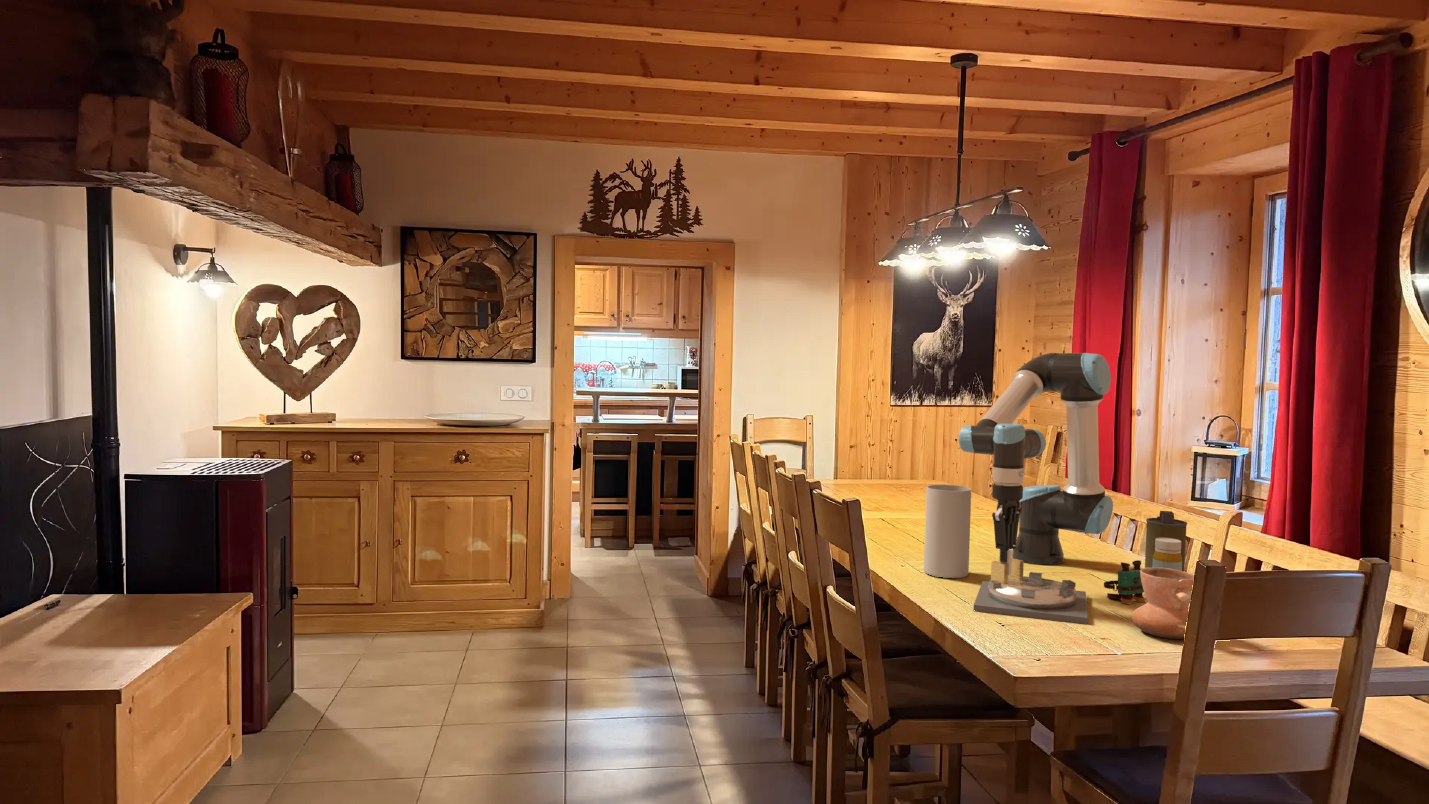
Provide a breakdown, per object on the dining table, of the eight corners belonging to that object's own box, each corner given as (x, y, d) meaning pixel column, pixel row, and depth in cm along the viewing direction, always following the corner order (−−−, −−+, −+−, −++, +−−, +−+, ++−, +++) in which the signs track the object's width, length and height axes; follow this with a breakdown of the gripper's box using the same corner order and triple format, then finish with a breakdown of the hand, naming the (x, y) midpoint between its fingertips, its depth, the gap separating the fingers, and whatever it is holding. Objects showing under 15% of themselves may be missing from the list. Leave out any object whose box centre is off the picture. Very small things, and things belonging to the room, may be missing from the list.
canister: (1189, 587, 248) (1192, 515, 247) (1148, 585, 251) (1152, 513, 249) (1177, 578, 259) (1180, 509, 258) (1138, 575, 261) (1141, 507, 260)
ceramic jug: (1217, 647, 197) (1220, 582, 196) (1148, 643, 198) (1151, 579, 197) (1180, 624, 215) (1183, 565, 214) (1118, 621, 216) (1121, 562, 215)
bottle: (1178, 593, 242) (1180, 538, 241) (1182, 600, 235) (1185, 543, 234) (1149, 591, 244) (1152, 536, 243) (1153, 597, 237) (1155, 541, 236)
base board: (982, 586, 246) (982, 578, 246) (1085, 597, 236) (1085, 589, 236) (973, 610, 222) (973, 602, 221) (1087, 624, 212) (1087, 615, 212)
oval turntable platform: (971, 594, 231) (972, 563, 231) (1021, 583, 244) (1022, 554, 243) (1043, 614, 214) (1045, 581, 214) (1094, 602, 226) (1095, 570, 226)
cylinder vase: (960, 581, 250) (963, 492, 249) (917, 575, 257) (920, 488, 256) (973, 572, 261) (976, 487, 260) (931, 566, 268) (934, 483, 266)
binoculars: (1117, 556, 241) (1150, 560, 233) (1119, 596, 241) (1152, 602, 232) (1094, 559, 237) (1127, 563, 228) (1096, 600, 237) (1129, 605, 228)
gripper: (1011, 487, 225) (1008, 581, 226) (1031, 482, 235) (1029, 572, 236) (983, 484, 230) (980, 575, 231) (1004, 479, 240) (1001, 567, 241)
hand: (1005, 573), depth 234 cm, fingers closed
